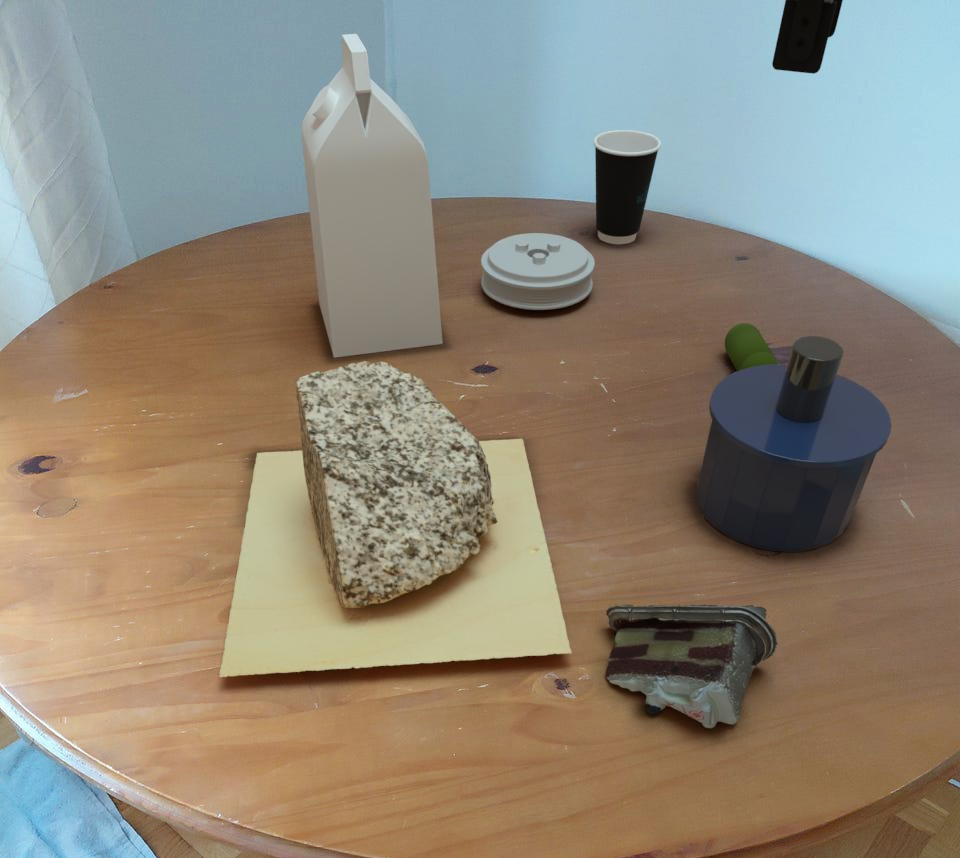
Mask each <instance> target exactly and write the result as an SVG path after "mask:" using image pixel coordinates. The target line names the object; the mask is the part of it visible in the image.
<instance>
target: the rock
mask: <svg viewBox="0 0 960 858" xmlns="http://www.w3.org/2000/svg"><path fill="white" fill-rule="evenodd" d="M295 391H296V392H295V393H296V400H297V407H298V416H299V417H298V419H299V424H300V439H301V441H300V442H301V449H300V450H293V451H291V450H288V451H287V450H286V451H266V452H257V453H256V458H255V464H254V468H253V473H252V482H251V485H250V489H249V490H250V491H249V499H248V503H247V511H246V513H245V515H246V516H245V522H244V523H245V524H244V526H245V527H243V532H242V533H243V535H242V538H241V545H240V553H239V556H238V557H239V558H238V566H237V569H236V570H237V572H236V578H235V580H234V587H233V590H232V591H233V594H232V600H231V603H230V605H231V607H230V609H229V616H228V617H229V618H228V622H227V628H226V637H225V640H224V648H223V650H224V651H222V654H223V655H222V657H221V658H222V661H221V665H220V669H219V672H218V673H219V676H218V677H219V678H223V677H225V678H227V677H238V676H249V675H250V676H254V675H267V674H269V675H270V674H277V673H279V674H281V673H282V674H286V673H287V674H289V673H296V672H297V673H300V672H306V671H308V672H309V671H312V672H314V671H316V672H319V671H325V670H327V671H328V670H338V669H339V670H349V669H352V668H354V669H361V668H365V669H366V668H373V667H382V666H384V667H386V666H391V667H393V666H401V665H402V666H404V665H420V664H434V663H435V664H436V663H440V664H441V663H443V662H444V663H448V662H452V661H454V662H460V661H462V662H463V661H477V660H490V659H505V658H519V657H520V658H523V657H528V656H530V657H532V656H536V657H539V656H548V655H554V654H556V655H562V654H563V655H564V654H565V655H566V654H572V653H573V652H572V649H571V646H570V641H569V639H568V638H569V636H568V635H567V632H568V631H567V626H566V622H565V619H564V615H563V609H562V606H561V600H560V594H559V593H558V592H559V590H558V589H557V588H558V586H557V582H556V581H555V580H556V578H555V573H554V572H553V571H554V569H553V568H552V567H553V563H552V562H551V556H550V552H549V548H548V546H549V545H548V544H547V541H546V540H547V539H546V535H545V530H544V527H543V521H542V519H541V513H540V509H539V507H538V506H539V505H538V502H537V501H538V500H537V496H536V493H535V492H536V490H535V487H534V482H533V477H532V474H531V469H530V465H529V461H528V457H527V455H528V454H527V452H526V448H525V447H526V446H525V443H524V439H523V438H511V439H510V438H509V439H490V440H479V439H478V438H476V437H475V435H473V434H472V433H471V432H470V430H469V429H468V428H467V427H466V425H465V424H464V423H463V422H462V421H460V420H459V419H458V417H456V416H455V415H454V413H452V412H451V410H449V409H448V408H447V407H446V406H445V405H444V404H443V403H442V402H441V401H438V400H437V398H436V396H435V395H434V394H433V391H432V390H431V388H429V387H428V385H427V384H426V383H425V381H424V380H423V379H422V378H421V377H419V376H418V375H416V374H413V373H411V372H409V371H400V370H399V368H396V367H393V366H392V364H391V363H390V362H385V361H379V362H377V361H376V362H370V361H367V360H364V361H360V362H352V363H349V364H346V365H344V366H343V365H340V366H339V367H337V368H334V369H327V370H326V371H320V370H318V371H316V372H315V371H314V372H311V373H308V374H306V375H303V376H302V375H301V376H300V377H299V378H297V380H296V381H295Z"/></svg>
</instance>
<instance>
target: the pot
mask: <svg viewBox="0 0 960 858" xmlns="http://www.w3.org/2000/svg"><path fill="white" fill-rule="evenodd" d="M876 456H877V454H875V455H874V456H872V457H870V458H869V459H867V460H864V461H862V462H860V463H856V464H853V465H849V466H844V467H837V468H803V467H795V466H789V465H785V464H780V463H776V462H773V461H769V460H766V459H764V458H761V457H758V456H756V455H753V454H751V453H749V452H747V451H745V450H743V449H742V448H740V447H738V446H737V445H735V444H734V443H732V442H731V441H730V440H728V439H727V438H726V437H725V436H724V435H723V434H722V433H721V432H720V431H719V430H718V429H717V427H716V426H715V424H714V422H713V421H712V420H711V424H710V428H709V432H708V436H707V441H706V445H705V451H704V454H703V459H702V464H701V468H700V471H699V477H698V481H697V486H696V490H695V495H696V496H695V497H696V503H697V506H698V509H699V510H700V512H701V514H702V515H703V517H704V518H705V520H707V521H708V523H710V525H711V526H712V527H713V528H715V529H716V531H717V530H718V532H720V533H722V534H723V535H725V536H726V537H729V538H730V539H732V540H734V541H737V542H738V543H741V544H744V545H746V546H750V547H752V548H756V549H760V550H765V551H771V552H778V553H779V552H780V553H797V552H805V551H806V552H807V551H811V550H816V549H818V548H822V547H824V546H826V545H829V544H830V543H832V542H833V541H835V540H837V539H838V538H839V537H840V536H841V535H842V534H843V532H844V531H845V529H846V527H847V525H849V523H850V522H851V520H852V517H853V514H854V512H855V509H856V507H857V504H858V501H859V499H860V497H861V493H862V491H863V489H864V486H865V484H866V481H867V479H868V476H869V474H870V471H871V468H872V466H873V463H874V461H875V459H876Z"/></svg>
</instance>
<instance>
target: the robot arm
mask: <svg viewBox="0 0 960 858" xmlns="http://www.w3.org/2000/svg"><path fill="white" fill-rule="evenodd" d="M842 5H843V0H785V1H784V5H783V10H782V15H781V20H780V25H779V30H778V35H777V39H776V44H775V49H774V54H773V59H772V62H771V63H772V68H773V69H774V70H776V71H784V72H794V73H803V74H817V73H818V72H820V70H821V68H822V65H823V64H822V63H823V60H824V55H825V52H826V48H827V44H828V40H829V38H831V37H833V36H834V34H835V32H836V28H837V25H838V21H839V17H840V14H841V13H840V12H841V9H842Z"/></svg>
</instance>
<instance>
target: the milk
mask: <svg viewBox="0 0 960 858" xmlns="http://www.w3.org/2000/svg"><path fill="white" fill-rule="evenodd" d="M341 54H342V55H341V56H342V59H341V61H342V67H341V68H340V69H339V70H338V72H337V73H336V74H335V76H334V77H333V78H332V79H331V81H330V82H329V83H328V85H325V86H324V87H323V88H322V89H321V90H320V91H319V92H318V94H317V95H316V97H314V100H313V102H312V104H311V106H310V107H309V109H308V110H307V111H306V114H305V116H304V118H303V120H302V123H301V143H302V153H303V160H304V161H303V163H304V170H305V171H304V173H305V181H306V190H307V200H308V209H309V218H310V229H311V238H312V249H313V258H314V266H315V267H314V268H315V277H316V286H317V294H318V304H319V308H320V311H321V316H322V320H323V322H324V326H325V331H326V334H327V338H328V341H329V342H328V343H329V345H330V349H331V352H332V357H333V358H335V359H336V358H343V357H351V356H357V355H358V356H359V355H366V354H374V353H382V352H391V351H397V350H406V349H414V348H422V347H430V346H438V345H443V344H444V341H443V331H442V319H441V318H442V317H441V306H440V304H441V303H440V295H439V294H440V293H439V281H438V269H437V257H436V256H437V255H436V254H437V253H436V245H435V231H434V220H433V218H434V217H433V207H432V194H431V193H432V192H431V180H430V168H429V161H428V155H427V151H426V146H425V143H424V141H423V139H422V138H421V136H420V134H419V133H418V131H417V130H416V128H415V126H414V124H413V122H412V121H411V120H410V118H409V116H408V115H407V114H406V113H405V112H404V110H402V108H401V107H400V106H399V105H398V104H397V103H396V102H395V101H394V99H393V98H391V97H390V96H389V95H388V94H387V93H386V92H385V91H384V90H383V89H382V88H381V87H380V86H379V85H378V84H377V83H376V82H375V81H374V80H373V79H372V78H371V74H370V64H369V55H368V51H367V49H366V47H365V45H364V43H363V42H362V40H361V38H360V37H359V35H358V33H348V34H347V33H346V34H341Z"/></svg>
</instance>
